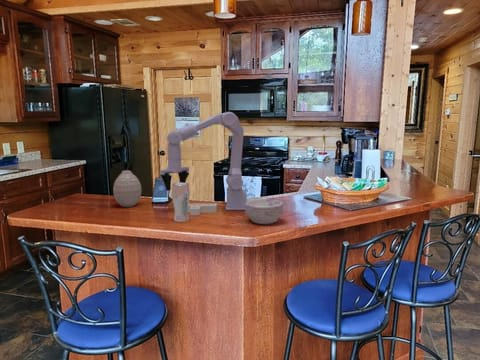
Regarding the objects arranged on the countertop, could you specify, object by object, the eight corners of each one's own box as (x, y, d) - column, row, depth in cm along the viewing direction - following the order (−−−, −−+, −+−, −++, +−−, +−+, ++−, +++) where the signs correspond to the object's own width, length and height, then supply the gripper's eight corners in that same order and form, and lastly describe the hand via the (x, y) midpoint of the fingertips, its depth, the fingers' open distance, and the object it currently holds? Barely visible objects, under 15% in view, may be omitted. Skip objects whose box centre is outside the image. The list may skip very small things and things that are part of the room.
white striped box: (217, 209, 169) (217, 202, 169) (216, 212, 163) (216, 205, 163) (188, 209, 169) (188, 202, 169) (186, 212, 163) (186, 205, 163)
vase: (143, 207, 174) (142, 172, 171) (114, 209, 169) (113, 173, 166) (140, 201, 185) (138, 168, 183) (113, 203, 181) (111, 169, 178)
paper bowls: (237, 221, 150) (237, 202, 148) (262, 214, 160) (262, 196, 159) (265, 229, 139) (266, 208, 138) (290, 221, 149) (291, 202, 148)
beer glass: (182, 216, 156) (181, 181, 154) (193, 219, 152) (192, 183, 149) (169, 220, 151) (168, 184, 148) (180, 223, 146) (179, 185, 144)
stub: (200, 212, 163) (200, 205, 162) (199, 215, 158) (199, 208, 158) (191, 212, 163) (191, 205, 162) (190, 215, 158) (189, 208, 157)
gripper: (181, 157, 171) (182, 186, 173) (155, 159, 160) (156, 190, 162) (191, 158, 166) (192, 187, 168) (165, 160, 156) (166, 192, 158)
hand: (175, 189), depth 165 cm, fingers open, 7 cm apart
